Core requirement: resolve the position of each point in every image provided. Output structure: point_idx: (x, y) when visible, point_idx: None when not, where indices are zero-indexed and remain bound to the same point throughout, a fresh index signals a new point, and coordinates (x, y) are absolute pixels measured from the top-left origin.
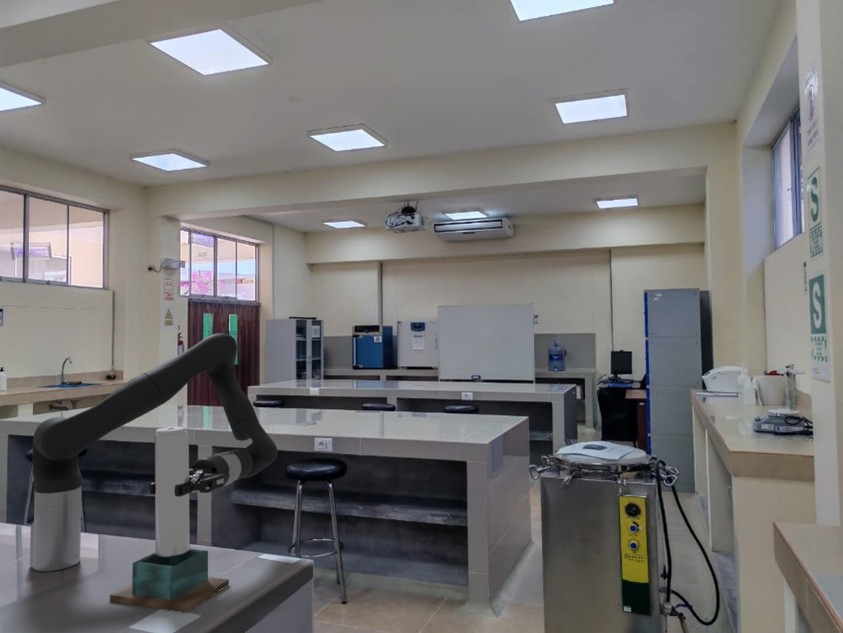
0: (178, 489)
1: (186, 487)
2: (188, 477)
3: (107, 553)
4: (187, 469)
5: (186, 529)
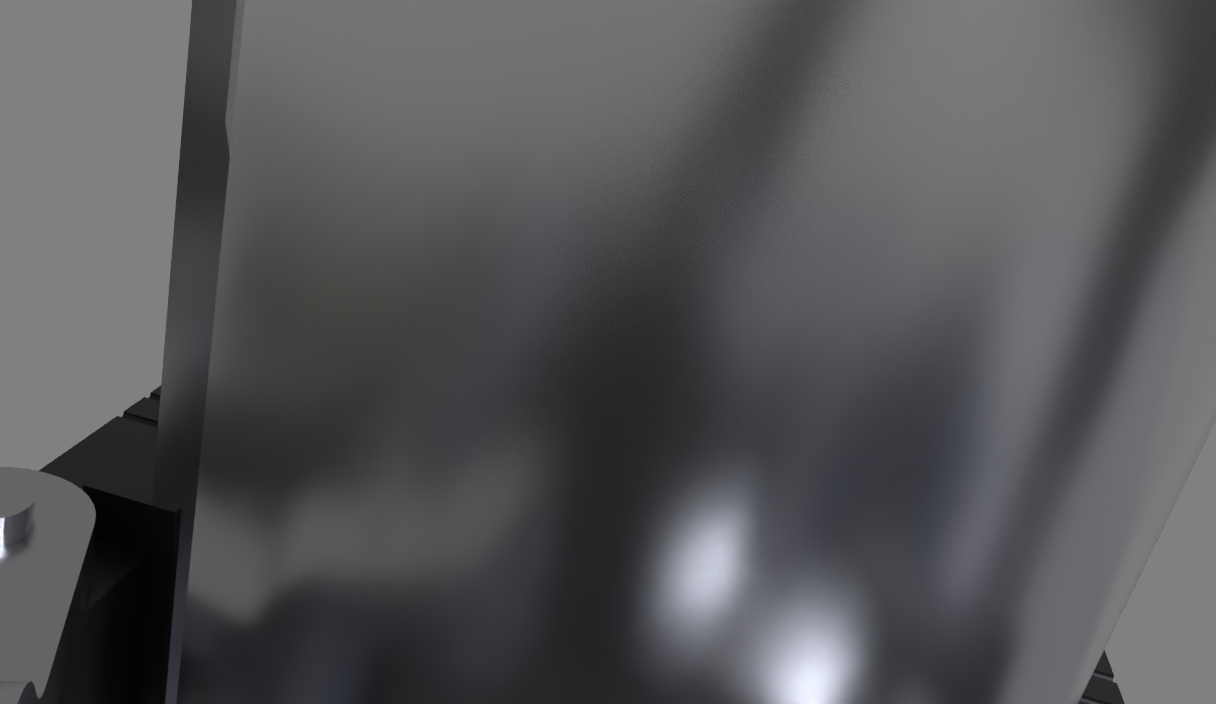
0: None
1: (155, 412)
2: (162, 399)
3: None
4: (201, 126)
5: None
